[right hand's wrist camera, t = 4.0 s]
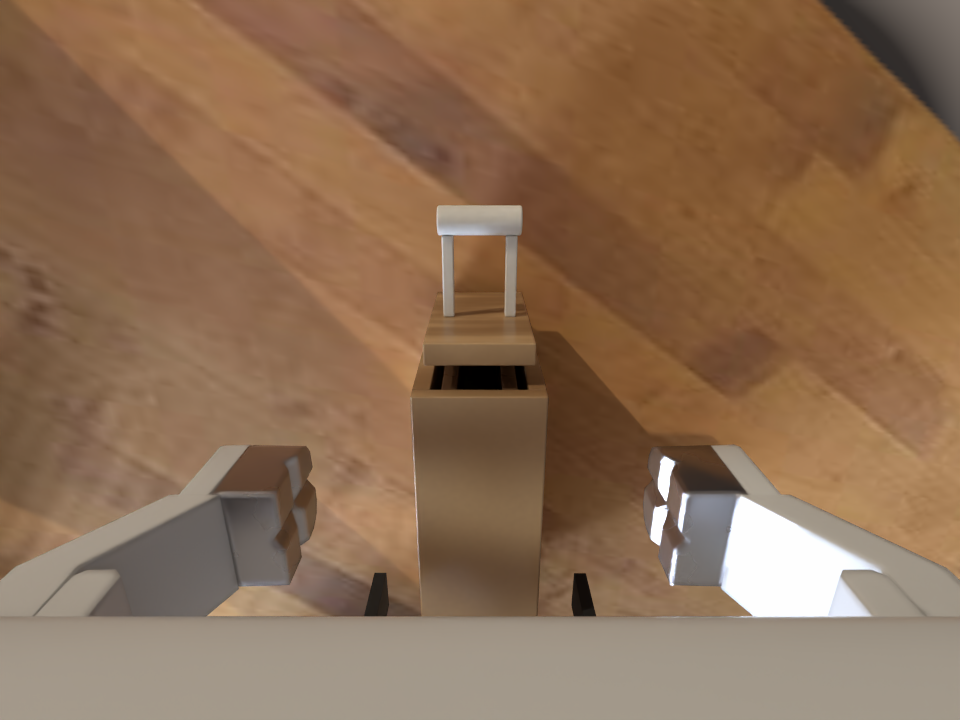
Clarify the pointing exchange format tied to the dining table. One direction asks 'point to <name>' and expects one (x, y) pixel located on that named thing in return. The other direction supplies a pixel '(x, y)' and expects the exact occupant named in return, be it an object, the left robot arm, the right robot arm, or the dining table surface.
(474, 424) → the wooden box sleeve
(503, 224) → the drawer
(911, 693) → the right robot arm
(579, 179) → the dining table surface
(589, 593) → the left robot arm
